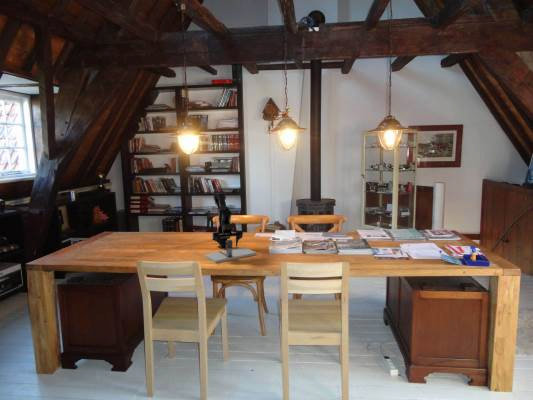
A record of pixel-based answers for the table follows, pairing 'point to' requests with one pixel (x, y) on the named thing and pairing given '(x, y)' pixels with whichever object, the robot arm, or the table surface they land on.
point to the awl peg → (229, 248)
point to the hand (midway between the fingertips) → (229, 246)
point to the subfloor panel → (235, 254)
